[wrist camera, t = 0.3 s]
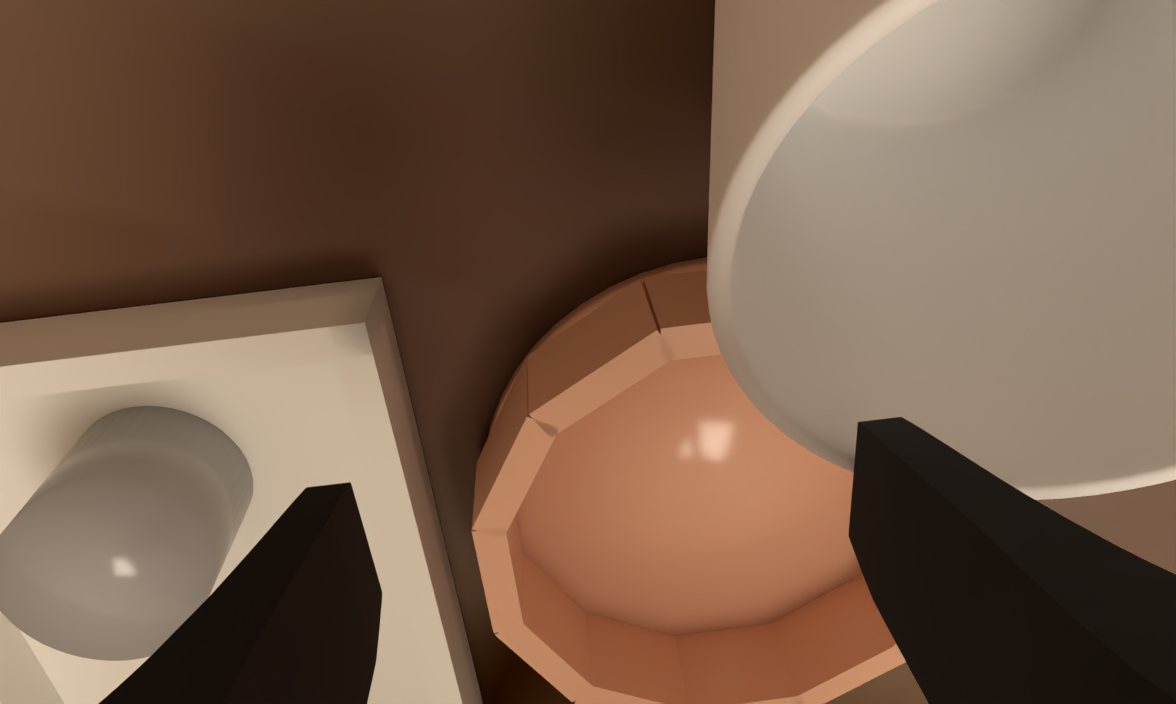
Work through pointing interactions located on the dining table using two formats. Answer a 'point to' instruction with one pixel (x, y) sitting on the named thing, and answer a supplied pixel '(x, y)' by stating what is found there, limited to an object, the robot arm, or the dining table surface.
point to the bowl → (665, 519)
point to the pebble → (125, 534)
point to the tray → (247, 453)
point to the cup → (952, 228)
